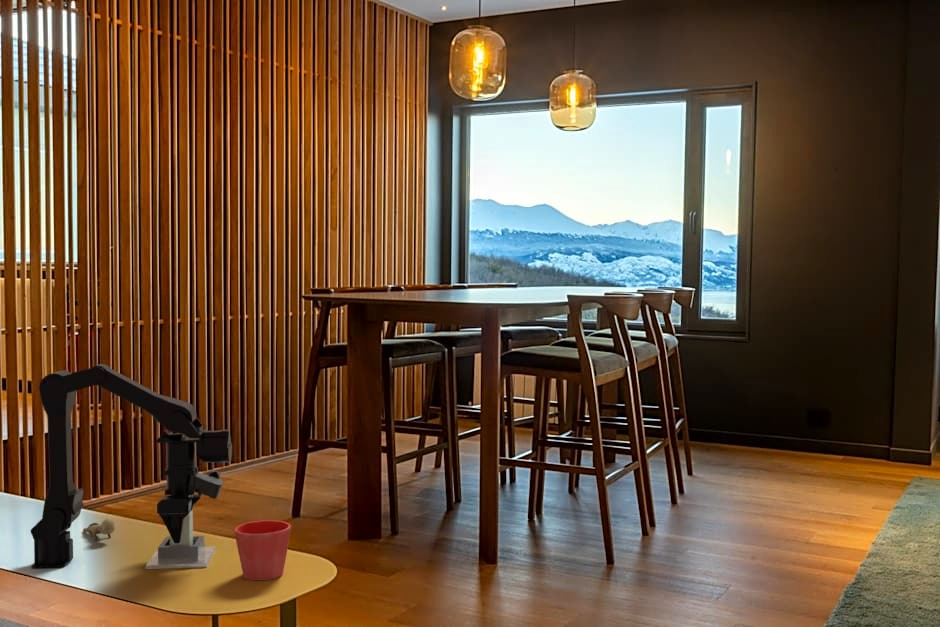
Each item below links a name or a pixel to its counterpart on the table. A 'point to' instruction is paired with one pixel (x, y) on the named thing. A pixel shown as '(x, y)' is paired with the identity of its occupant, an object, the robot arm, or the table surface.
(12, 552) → the table surface
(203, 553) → the bracket
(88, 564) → the table surface
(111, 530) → the figurine
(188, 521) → the rail post
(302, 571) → the table surface
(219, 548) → the table surface
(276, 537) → the flower pot
